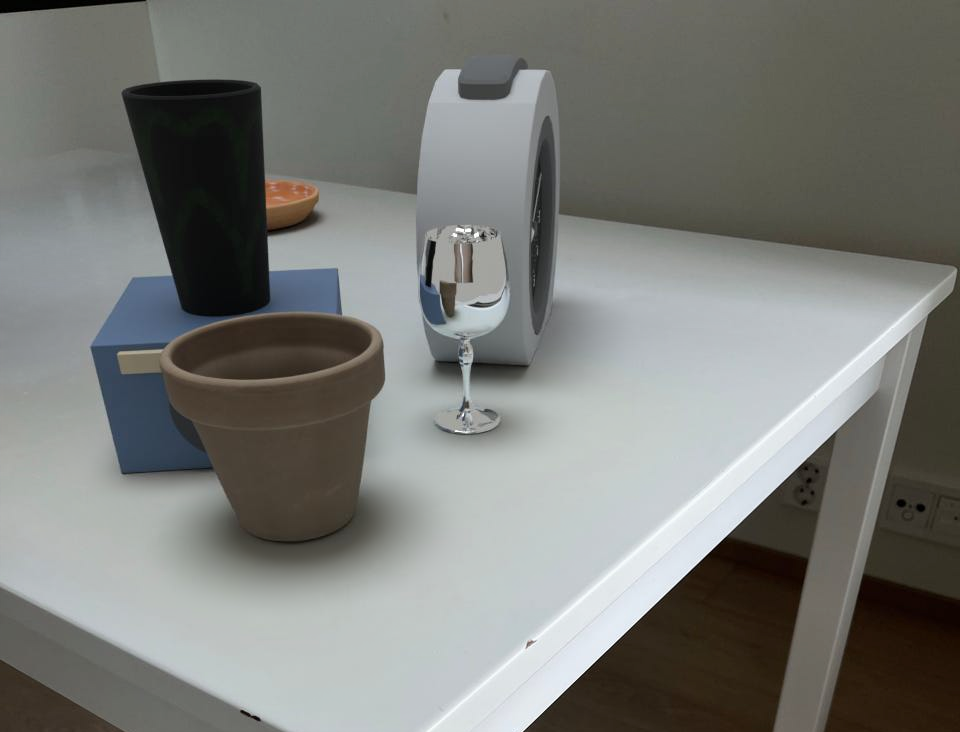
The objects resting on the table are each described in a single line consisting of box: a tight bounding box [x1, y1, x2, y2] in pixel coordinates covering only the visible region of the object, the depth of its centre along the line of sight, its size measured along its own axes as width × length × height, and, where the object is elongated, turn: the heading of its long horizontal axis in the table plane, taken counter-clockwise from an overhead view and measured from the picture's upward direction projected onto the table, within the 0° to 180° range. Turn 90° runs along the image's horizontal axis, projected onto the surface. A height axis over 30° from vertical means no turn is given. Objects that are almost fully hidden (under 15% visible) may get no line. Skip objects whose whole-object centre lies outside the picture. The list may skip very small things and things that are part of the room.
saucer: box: [265, 179, 320, 231], centre depth 114 cm, size 16×16×3 cm
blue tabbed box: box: [89, 267, 343, 474], centre depth 65 cm, size 14×14×8 cm
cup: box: [120, 78, 270, 317], centre depth 60 cm, size 8×8×12 cm
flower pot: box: [159, 312, 386, 542], centre depth 54 cm, size 12×11×10 cm
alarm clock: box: [415, 53, 561, 366], centre depth 76 cm, size 21×8×20 cm, turn 170°
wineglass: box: [417, 225, 510, 435], centre depth 64 cm, size 6×6×12 cm
